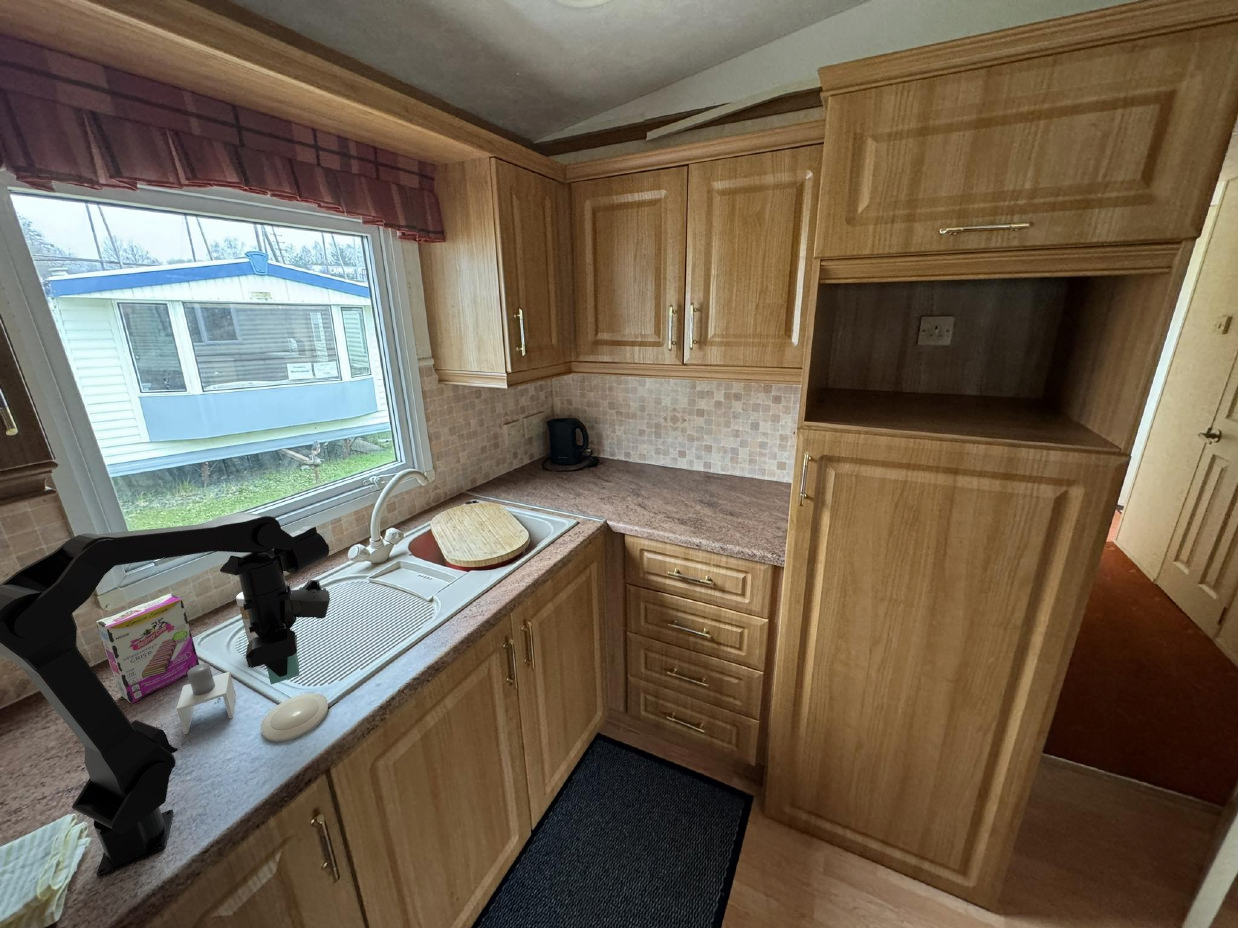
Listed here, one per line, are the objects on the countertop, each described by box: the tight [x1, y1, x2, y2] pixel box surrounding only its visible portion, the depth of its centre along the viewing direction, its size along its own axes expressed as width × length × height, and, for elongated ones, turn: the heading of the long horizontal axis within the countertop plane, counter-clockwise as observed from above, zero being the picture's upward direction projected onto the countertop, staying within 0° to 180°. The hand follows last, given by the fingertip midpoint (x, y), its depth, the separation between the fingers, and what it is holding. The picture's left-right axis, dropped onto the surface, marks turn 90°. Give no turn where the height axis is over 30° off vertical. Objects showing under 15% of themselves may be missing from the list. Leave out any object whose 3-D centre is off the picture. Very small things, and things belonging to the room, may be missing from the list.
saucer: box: [260, 692, 329, 743], centre depth 86 cm, size 10×10×1 cm
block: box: [265, 652, 300, 685], centre depth 83 cm, size 4×4×4 cm
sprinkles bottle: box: [235, 591, 258, 644], centre depth 103 cm, size 5×5×14 cm
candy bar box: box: [95, 593, 201, 704], centre depth 93 cm, size 11×5×16 cm, turn 154°
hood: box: [176, 663, 237, 735], centre depth 86 cm, size 7×7×10 cm
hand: (283, 668), depth 83 cm, fingers closed on block, 4 cm apart
